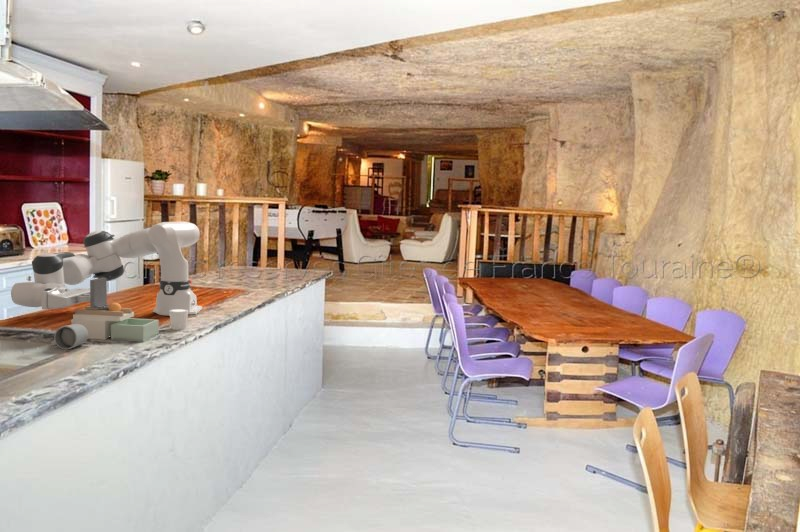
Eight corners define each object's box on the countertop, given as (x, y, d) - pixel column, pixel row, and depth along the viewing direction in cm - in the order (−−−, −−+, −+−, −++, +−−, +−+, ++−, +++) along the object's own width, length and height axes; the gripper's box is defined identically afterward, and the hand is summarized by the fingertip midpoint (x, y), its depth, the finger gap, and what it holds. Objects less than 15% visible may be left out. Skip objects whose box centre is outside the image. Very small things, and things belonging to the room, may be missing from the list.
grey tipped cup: (90, 344, 216) (89, 321, 216) (76, 350, 208) (75, 326, 207) (60, 343, 217) (59, 320, 216) (45, 349, 209) (44, 325, 208)
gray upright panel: (102, 310, 233) (102, 277, 232) (112, 310, 233) (111, 277, 232) (90, 314, 225) (90, 280, 224) (100, 314, 225) (99, 280, 224)
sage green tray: (127, 332, 235) (127, 318, 235) (158, 334, 234) (158, 319, 234) (111, 339, 224) (111, 324, 223) (143, 341, 223) (143, 326, 222)
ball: (124, 304, 230) (121, 314, 231) (114, 300, 230) (111, 310, 231) (119, 306, 226) (115, 316, 227) (108, 301, 226) (105, 312, 227)
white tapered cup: (182, 330, 242) (182, 312, 242) (165, 329, 244) (165, 311, 243) (191, 327, 249) (191, 309, 248) (175, 325, 250) (175, 308, 250)
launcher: (90, 330, 237) (90, 305, 236) (135, 333, 235) (135, 307, 234) (71, 337, 225) (71, 310, 224) (118, 340, 223) (118, 313, 222)
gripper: (74, 300, 239) (110, 302, 238) (39, 310, 219) (78, 312, 218) (74, 283, 238) (110, 285, 237) (38, 291, 218) (78, 294, 217)
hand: (94, 298), depth 228 cm, fingers closed
